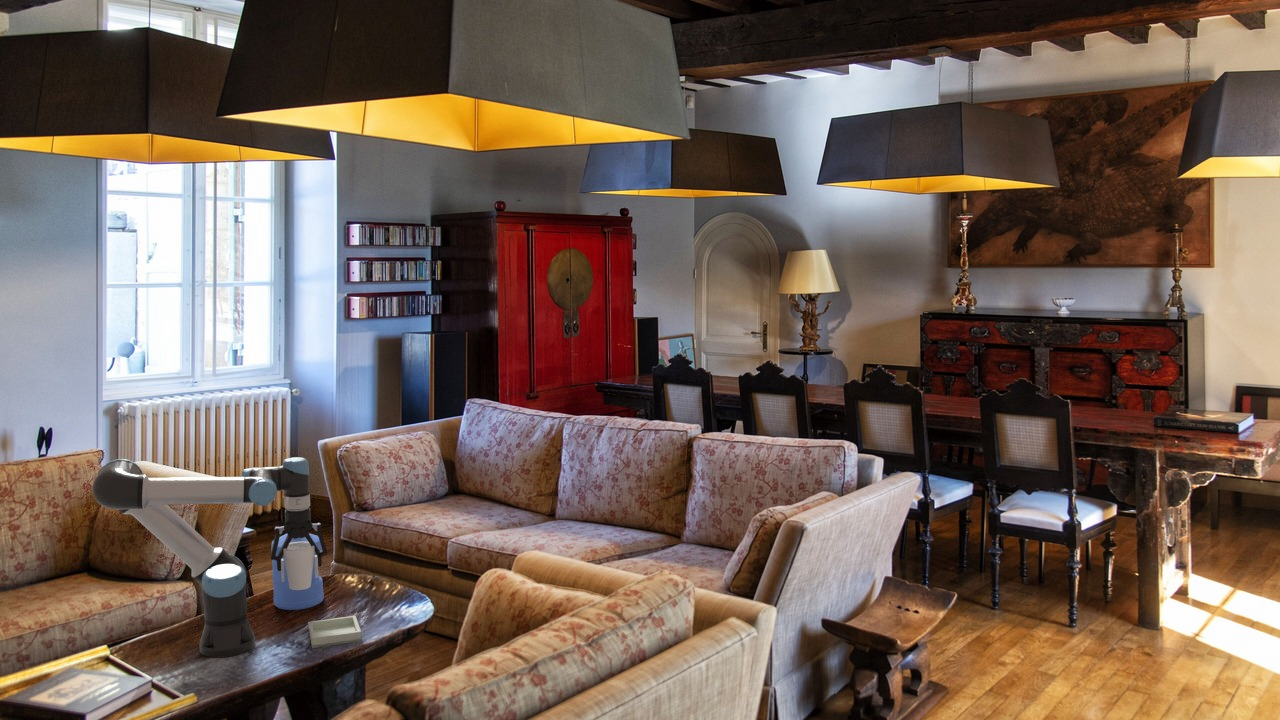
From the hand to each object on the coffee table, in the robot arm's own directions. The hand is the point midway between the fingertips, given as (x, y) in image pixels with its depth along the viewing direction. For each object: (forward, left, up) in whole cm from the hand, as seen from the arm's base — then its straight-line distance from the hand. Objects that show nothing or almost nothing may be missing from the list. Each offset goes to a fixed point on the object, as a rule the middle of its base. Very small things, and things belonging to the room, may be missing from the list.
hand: (299, 578), depth 329 cm
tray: (+8, -16, -14) cm, 23 cm away
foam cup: (0, 0, -3) cm, 3 cm away
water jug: (0, +18, -14) cm, 23 cm away
